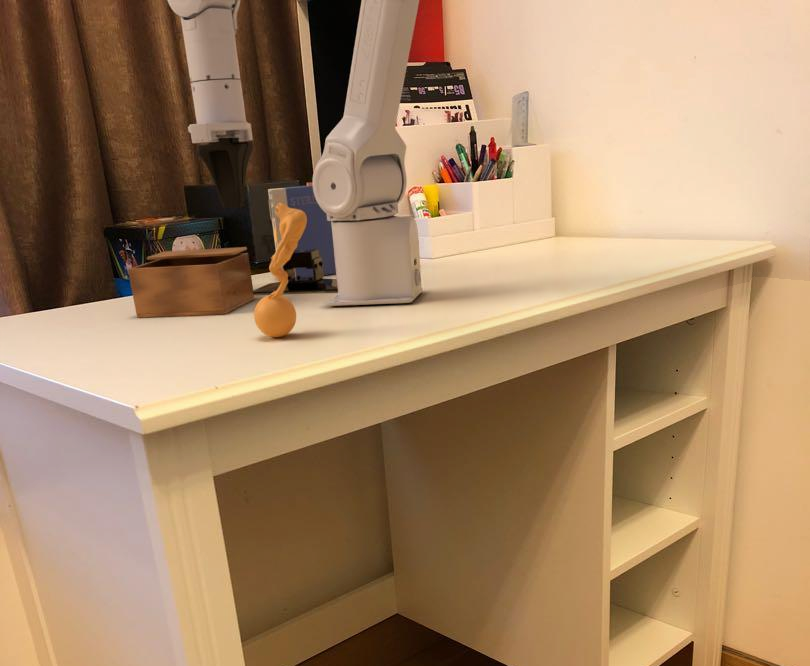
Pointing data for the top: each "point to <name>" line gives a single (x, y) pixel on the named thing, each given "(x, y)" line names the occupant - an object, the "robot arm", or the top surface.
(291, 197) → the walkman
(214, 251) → the flap
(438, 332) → the top surface
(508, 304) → the top surface
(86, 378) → the top surface
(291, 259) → the black angular piece
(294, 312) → the figurine
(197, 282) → the carton
